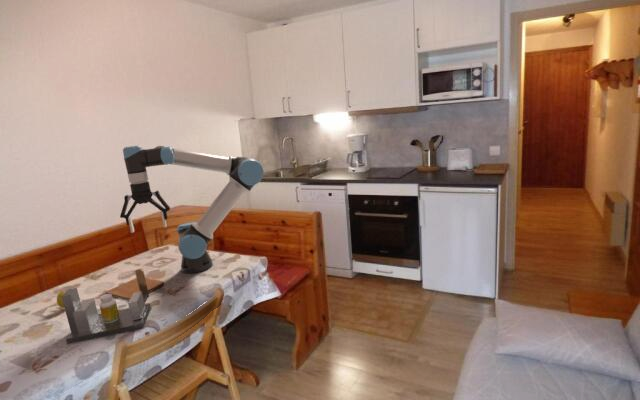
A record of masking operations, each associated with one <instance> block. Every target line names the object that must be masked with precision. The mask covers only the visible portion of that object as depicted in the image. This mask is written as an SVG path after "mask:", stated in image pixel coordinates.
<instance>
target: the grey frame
mask: <svg viewBox="0 0 640 400" xmlns="http://www.w3.org/2000/svg"><path fill="white" fill-rule="evenodd" d="M65 291H66V292H65V293H64V294H63V295H62V296H61V297H62V301H63V304H64V308H63V309H64V312H65V315H66V318H67V323H68V325H69V329H70V332H69V334H68V336H67V337H66V338H65V341H66V345H71V344H75V343H76V344H77V343H81V342H85V341H89V340H96V339H99V338H100V339H101V338H105V337H109V336H114V335H118V334H123V333H128V332H134V331H137V330H144V328H145V325H146V322H147V319H148V317H149V315H150V313H151V309H152V306H151V303H147V304H145V310H144V312H143V315H142V317H141V319H137V320H132V318H131V314H130V310H129V307H128V308H123V309H118V312H119V319H118V320H117V321H115V322H113V323H104V321H103V317H102V313H101V312H100V313H99V312H98V307H97V304H96V300H95V298H94V297H92V298H87V299H83V300H81V298H80V296H79V292H78V291H79V290H78V287H73V288H68V289H66V290H65Z"/></svg>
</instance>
